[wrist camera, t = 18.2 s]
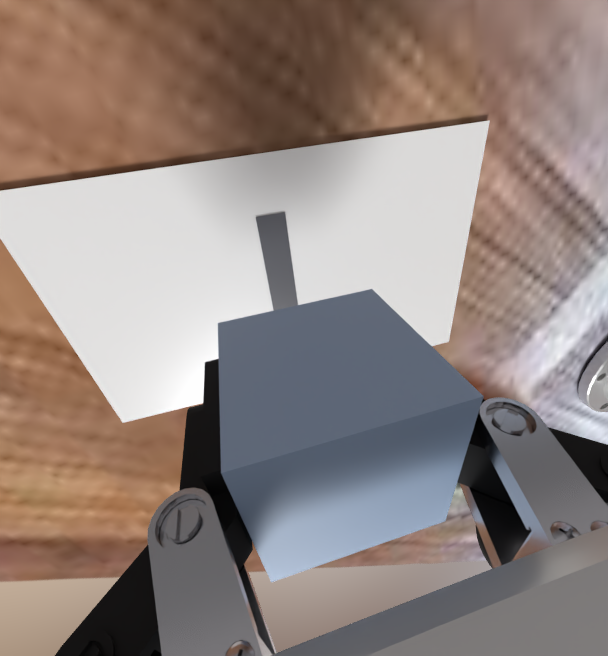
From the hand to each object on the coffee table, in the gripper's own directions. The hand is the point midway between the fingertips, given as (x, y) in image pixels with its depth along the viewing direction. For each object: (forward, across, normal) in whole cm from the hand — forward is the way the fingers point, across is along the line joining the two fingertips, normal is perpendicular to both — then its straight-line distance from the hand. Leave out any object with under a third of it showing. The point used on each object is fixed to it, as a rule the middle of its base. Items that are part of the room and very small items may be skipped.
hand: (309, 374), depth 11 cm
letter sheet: (+7, 0, 0) cm, 7 cm away
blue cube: (+1, 0, 0) cm, 1 cm away
